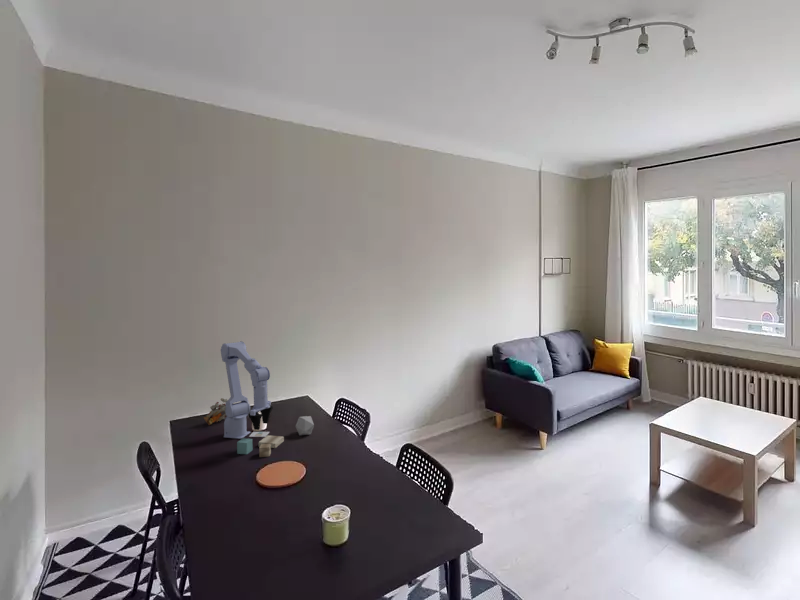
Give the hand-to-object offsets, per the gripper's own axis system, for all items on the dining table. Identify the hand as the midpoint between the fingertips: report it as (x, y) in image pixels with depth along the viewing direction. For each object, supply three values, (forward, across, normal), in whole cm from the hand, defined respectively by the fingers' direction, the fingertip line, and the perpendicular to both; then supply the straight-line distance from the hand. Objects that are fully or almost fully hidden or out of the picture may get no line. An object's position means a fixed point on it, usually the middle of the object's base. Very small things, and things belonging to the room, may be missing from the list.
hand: (261, 426), depth 184 cm
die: (+10, +18, -12) cm, 24 cm away
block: (+10, -6, -5) cm, 13 cm away
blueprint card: (+10, +14, +9) cm, 19 cm away
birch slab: (+10, +5, -2) cm, 11 cm away
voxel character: (+10, +24, +34) cm, 43 cm away
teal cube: (+10, -5, +5) cm, 12 cm away
